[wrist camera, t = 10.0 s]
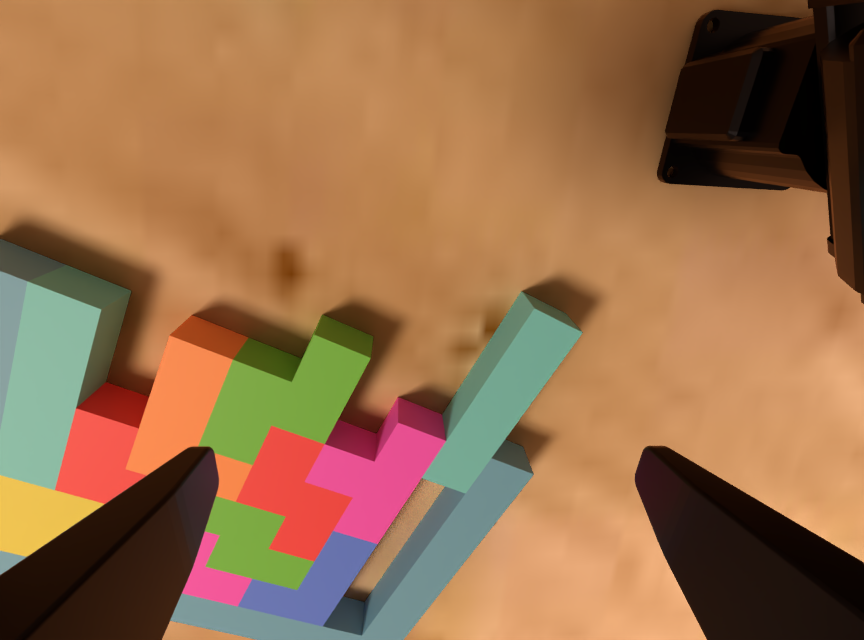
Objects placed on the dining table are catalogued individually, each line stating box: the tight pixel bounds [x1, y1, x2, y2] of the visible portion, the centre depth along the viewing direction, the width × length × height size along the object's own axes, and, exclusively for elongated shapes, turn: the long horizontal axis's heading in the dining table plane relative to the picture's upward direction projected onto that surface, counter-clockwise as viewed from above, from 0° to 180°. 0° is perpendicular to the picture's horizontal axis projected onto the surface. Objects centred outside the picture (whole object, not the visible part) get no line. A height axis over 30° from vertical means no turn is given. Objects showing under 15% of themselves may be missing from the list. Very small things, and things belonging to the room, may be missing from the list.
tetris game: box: [0, 239, 583, 640], centre depth 23 cm, size 28×3×28 cm
